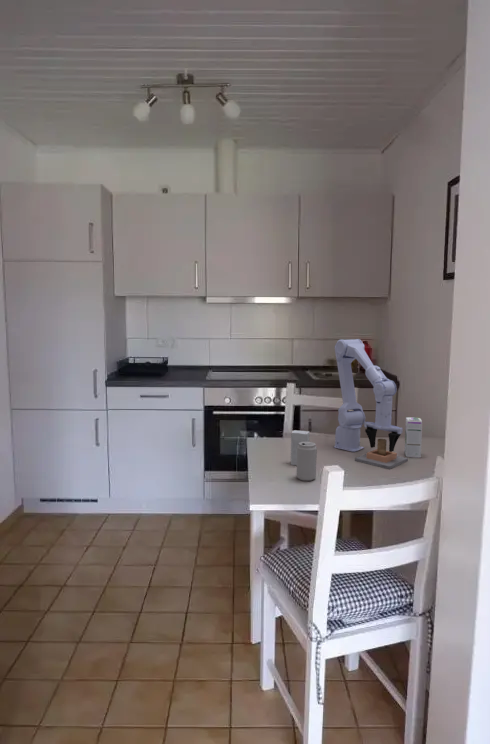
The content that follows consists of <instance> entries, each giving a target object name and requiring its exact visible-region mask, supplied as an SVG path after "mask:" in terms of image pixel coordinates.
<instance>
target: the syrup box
mask: <svg viewBox="0 0 490 744" xmlns="http://www.w3.org/2000/svg"><path fill="white" fill-rule="evenodd" d="M404 425H405V429H404V430H405V431H404V452H403V453H404V455H405V458H417V459H418V458H419V459H421V458H422V457H421V456H422V442H423V441H422V439H423V420H422V418H421V417H411V416H409V417H405V424H404Z"/></svg>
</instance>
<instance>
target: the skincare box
mask: <svg viewBox="0 0 490 744" xmlns="http://www.w3.org/2000/svg"><path fill="white" fill-rule="evenodd" d="M310 433H311V432H310V430H309V431H308V430H307V431H306V430H296V429H295V430H292V432H291V433H290V442H291V443H290V465H291V466H297V447H298V445H299V443H300V442H310V435H311V434H310Z"/></svg>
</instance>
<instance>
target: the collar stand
mask: <svg viewBox="0 0 490 744" xmlns="http://www.w3.org/2000/svg"><path fill="white" fill-rule="evenodd" d="M408 459H409V457H406V456H405V457H403V456H400V455H398V452H395V451H392V452H389V450H386V456H382V455H378V454H377V448H376V449H373V450H370V451H368V452H366V453H364V454H362V455H359V456H357V457H355V458H354V461H355V462H359V463H363V464H366V465H371V466H375V467H378V468H383V469H388V470H392V469H393V468H396V467H398V466H399V465H402V464H403V463H407V462H408Z"/></svg>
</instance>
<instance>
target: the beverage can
mask: <svg viewBox="0 0 490 744" xmlns="http://www.w3.org/2000/svg"><path fill="white" fill-rule="evenodd" d="M316 445H317V443H315V442H313V441H309V442H300V443H299V445H298V447H297V465H296V478H298V480H300V481H302V482H310V481H313V480H314V479H316V477H317V458H318V457H317V452H318V451H317V450H318V447H317V446H316Z"/></svg>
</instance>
